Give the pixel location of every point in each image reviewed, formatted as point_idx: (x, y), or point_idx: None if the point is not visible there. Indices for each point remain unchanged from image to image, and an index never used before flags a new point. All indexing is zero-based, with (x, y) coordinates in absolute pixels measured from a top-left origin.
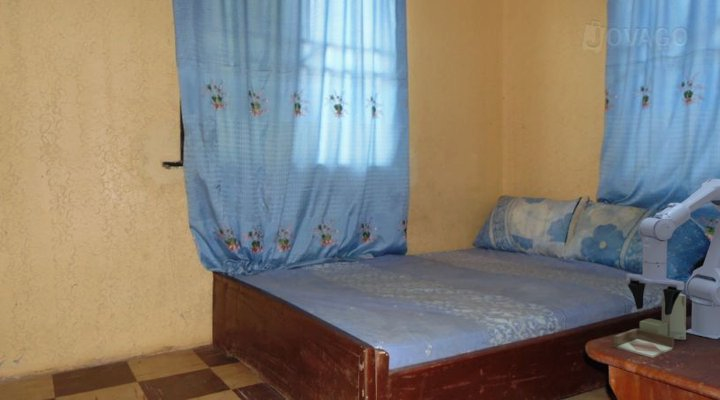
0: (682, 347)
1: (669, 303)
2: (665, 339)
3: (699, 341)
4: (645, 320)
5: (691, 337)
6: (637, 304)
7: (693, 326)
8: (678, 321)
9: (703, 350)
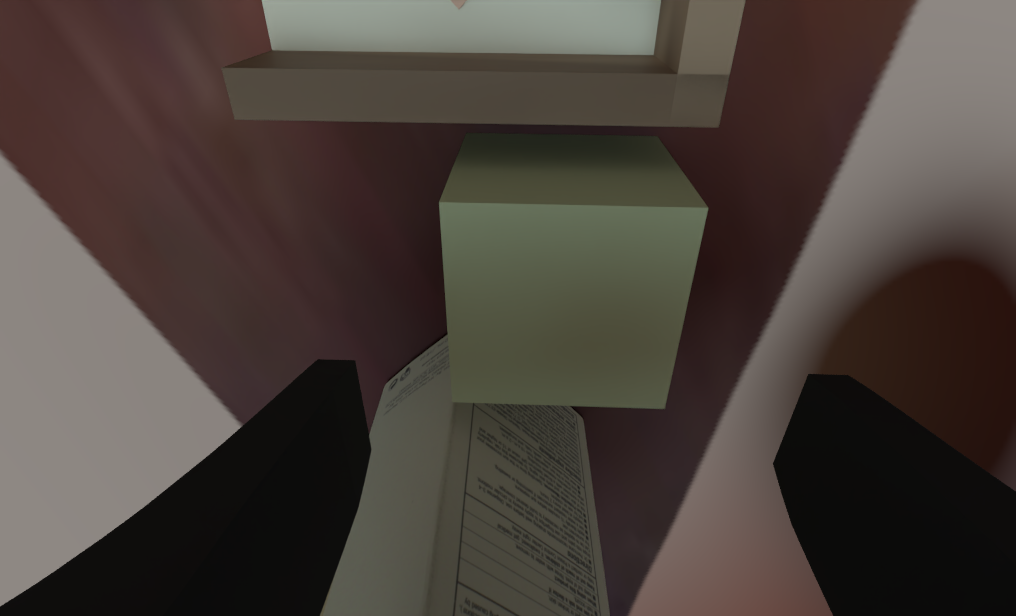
0: (282, 196)
1: (124, 522)
2: (316, 61)
3: None
4: (662, 303)
5: None
6: (880, 421)
7: None
8: (389, 473)
9: (157, 249)
